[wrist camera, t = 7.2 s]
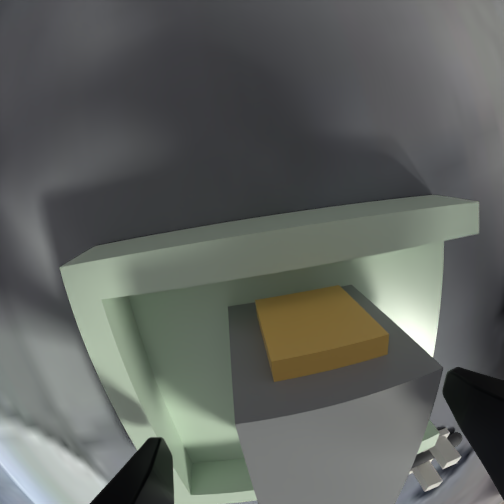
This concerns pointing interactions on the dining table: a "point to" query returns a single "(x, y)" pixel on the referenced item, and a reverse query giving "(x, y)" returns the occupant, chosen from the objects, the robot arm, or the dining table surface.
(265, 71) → the dining table surface
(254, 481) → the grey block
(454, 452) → the clip
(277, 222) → the holder
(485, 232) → the dining table surface
